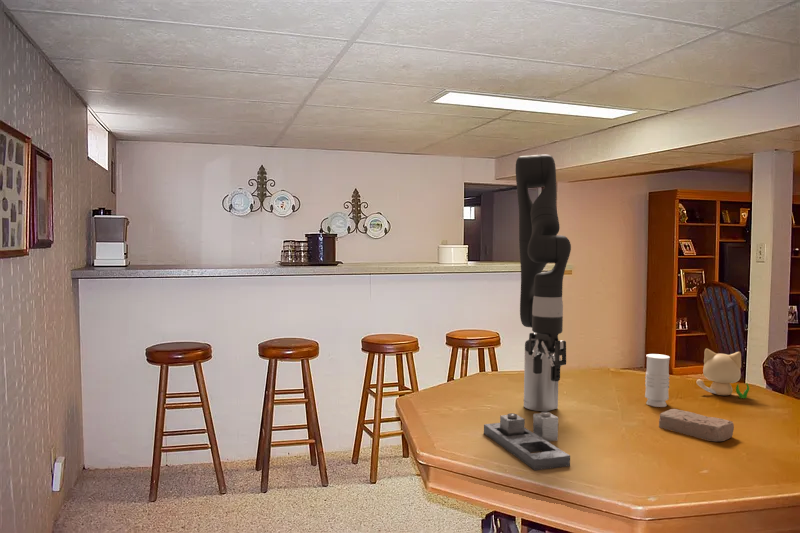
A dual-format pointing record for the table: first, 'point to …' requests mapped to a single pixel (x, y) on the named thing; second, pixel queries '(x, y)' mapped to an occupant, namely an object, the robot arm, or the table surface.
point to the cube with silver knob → (546, 426)
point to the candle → (657, 379)
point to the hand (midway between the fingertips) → (546, 377)
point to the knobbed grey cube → (512, 425)
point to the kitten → (722, 373)
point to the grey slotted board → (529, 448)
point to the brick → (696, 425)
